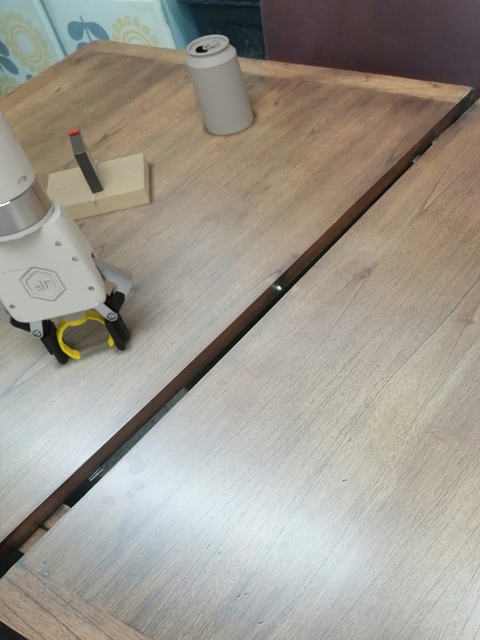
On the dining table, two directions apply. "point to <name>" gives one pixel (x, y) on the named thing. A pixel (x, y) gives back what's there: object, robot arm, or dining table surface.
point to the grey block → (85, 160)
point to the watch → (76, 320)
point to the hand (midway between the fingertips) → (93, 347)
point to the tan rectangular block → (118, 187)
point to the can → (219, 85)
